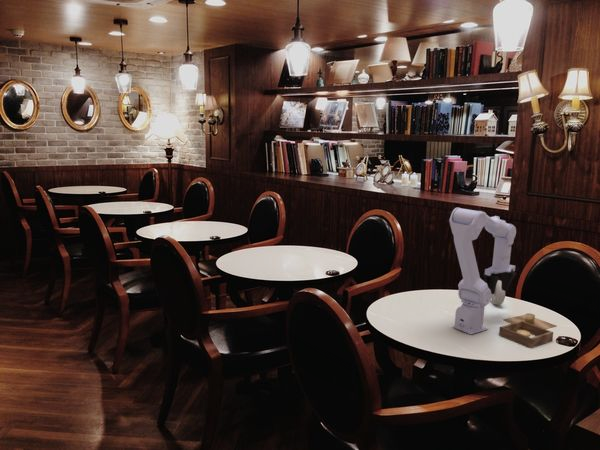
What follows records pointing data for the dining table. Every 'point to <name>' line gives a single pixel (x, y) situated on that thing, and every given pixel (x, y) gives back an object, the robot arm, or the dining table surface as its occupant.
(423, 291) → the dining table surface
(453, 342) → the dining table surface
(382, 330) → the dining table surface
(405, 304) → the dining table surface
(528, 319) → the lid
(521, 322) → the box
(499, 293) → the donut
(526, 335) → the biscuit
